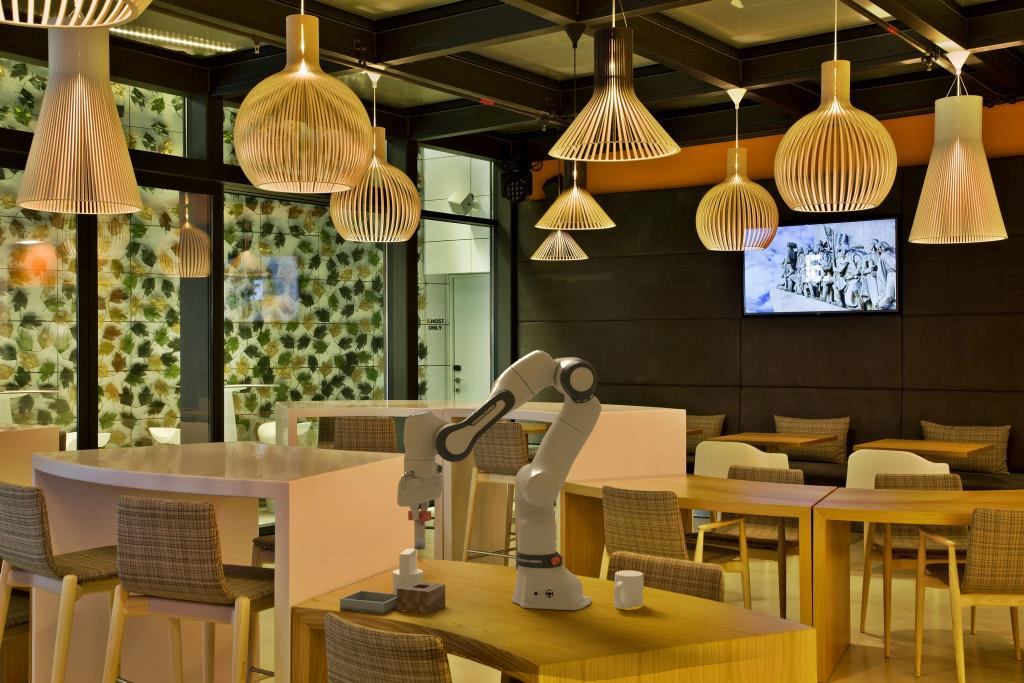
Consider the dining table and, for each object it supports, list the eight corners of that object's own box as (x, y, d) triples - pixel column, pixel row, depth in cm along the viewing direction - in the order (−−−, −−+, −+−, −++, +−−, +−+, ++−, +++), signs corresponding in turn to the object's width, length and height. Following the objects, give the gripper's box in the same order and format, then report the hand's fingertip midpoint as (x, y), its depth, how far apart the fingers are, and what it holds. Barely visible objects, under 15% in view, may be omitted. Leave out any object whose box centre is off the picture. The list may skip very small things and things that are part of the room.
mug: (624, 568, 303) (649, 572, 299) (624, 601, 303) (649, 605, 298) (604, 576, 293) (629, 579, 289) (604, 609, 293) (629, 613, 289)
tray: (403, 605, 298) (403, 594, 298) (383, 614, 288) (383, 603, 288) (360, 600, 304) (360, 590, 304) (340, 609, 293) (340, 598, 293)
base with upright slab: (418, 595, 310) (418, 554, 310) (389, 594, 311) (389, 553, 311) (426, 588, 319) (426, 549, 319) (397, 587, 320) (397, 548, 320)
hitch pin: (431, 548, 296) (431, 511, 296) (426, 550, 293) (426, 512, 293) (412, 546, 298) (412, 509, 298) (407, 548, 295) (407, 511, 295)
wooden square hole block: (445, 605, 298) (445, 584, 298) (428, 613, 289) (428, 591, 289) (414, 602, 302) (414, 581, 302) (396, 610, 293) (396, 588, 293)
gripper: (411, 473, 285) (411, 525, 285) (445, 465, 303) (445, 513, 303) (391, 472, 287) (391, 523, 287) (426, 465, 306) (426, 512, 306)
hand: (419, 518), depth 295 cm, fingers closed on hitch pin, 2 cm apart
